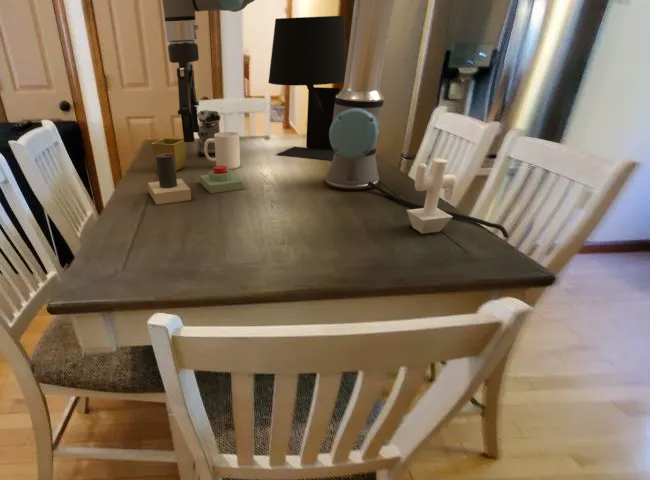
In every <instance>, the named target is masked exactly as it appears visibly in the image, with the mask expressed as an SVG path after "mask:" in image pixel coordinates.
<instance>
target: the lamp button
mask: <svg viewBox="0 0 650 480" xmlns="http://www.w3.org/2000/svg"><path fill="white" fill-rule="evenodd" d="M212 169H213V172H214V174H225V173H227V170H228V169H227V167H226V166H222V165H220V166H216V165H215V166H213V167H212Z"/></svg>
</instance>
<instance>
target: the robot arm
mask: <svg viewBox="0 0 650 480" xmlns="http://www.w3.org/2000/svg"><path fill="white" fill-rule="evenodd" d="M161 1H162V8H163V16H164V30H165V39H166V41H167V42H168V43H169V44H168V45H167V53H168V62H170V63H173V64H175V63H177V64H178V67H176V77H177V89H178V91H177V92H178V106H179V108H178V110H177V115H179V116H180V118H181V128H182V134H183V135H182V136H183V139H184V142H186V143H195V133H197V132H199V126H200V125H199V126H198V124H199V119H198V106H200V101H199V100H198V98H197V91H196V85H195V71H194V69H193V67H194V66H193V64H192V63H193V62H194V63H195V62H198V61H199V59H200V58H199V57H200V56H199V46H198V44H197V43H195V41H197V40H198V36H197V31H199V25H197V24H196V23H197V22H196V20H197V19H196V12H213V11H214V12H215V11H222V12H223V11H227V12H231V13H232V12H233V13H237V12H239V11H242V10H244V9H245V8H246V7H247V6H248V5H249V4H251V3H253V2H254V1H255V0H161ZM395 1H396V0H354V3H353V11H352V18H351V24H350V25H351V27H350V33H349V41H348V48H347V54H346V70H345V78H344V82H343V86H342V88H341V89H340V91H339V92H338V93H337V94H336V98H335V106H334V114H333V122H332V124H331V127H330V130H329V139H330V143H331V146H332V148H333V150H334V157H333V160H332V161H331V162H330V166H329V169H328V171H327V173H326V176H325V177H326V178H325V185H326V186H328V187H329V188H332V189H335V190H340V191H349V192H350V191H351V192H353V191H355V192H356V191H367V190H370V189H375V190H376V191H379V192H380V193H382V194H383V195H385V196H387V197H389V198H391V199H392V200H395V201H397V202H400V203H402V204H405V205H408V206H410V207H414V208H416V209H420V208H424V204H420V203H416V202H414V201H410V200H407V199H405V198H403V197H399V196H398V195H395V194H393V193H391V192H389V191H387V190H386V189H384V188H383V187H381V186H380V185H379V181H380V175H379V171H378V163H377V158H376V157H377V156H376V151H377V146H378V140H379V135H380V131H379V130H380V123H381V118H382V112H383V107H384V101H385V97H384V95H383V93H382V92H381V90H380V87H381V82H382V76H383V71H384V65H385V58H386V53H387V47H388V42H389V36H390V30H391V25H392V19H393V14H394V13H393V12H394V7H395ZM441 210H442V211H444V212H445V213H447V214H449V215H451V216H453V217H452V218H458V219H461V220H465V221H469V222H473V223H476V224H480V225H483V226H486V227H488V228H491V229H492V228H493V229H496V230H499V231H500V232H501V234H502V235H503V237H504V238H506V239H509V238H510V236H509V232H508V231H507V229H506V228H505V227H504V226H503V225H501V224H500V223H493V222H489V221H487V220H484V219H481V218H477V217H474V216H469V215H466V214H461V213H457V212H454V211H449V210H444V209H441Z"/></svg>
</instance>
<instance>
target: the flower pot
mask: <svg viewBox="0 0 650 480" xmlns="http://www.w3.org/2000/svg"><path fill="white" fill-rule="evenodd" d="M150 145H151V149H152V153H153V155H154V160H156V157H155V156H156V155H158V154H163V153H173V154H174V162H175V170H176V172H177V171H179V170H180V169H182V168H183V167H184V165H185V161H186V157H187V142H184V138H171V137H170V138H168V137H166V138H161V139H158V140H155V141H154V142H151V143H150Z"/></svg>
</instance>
